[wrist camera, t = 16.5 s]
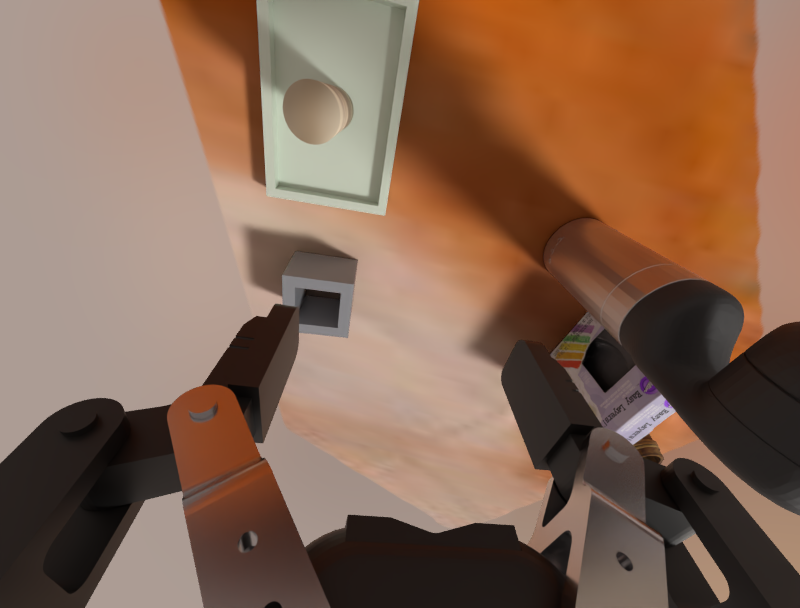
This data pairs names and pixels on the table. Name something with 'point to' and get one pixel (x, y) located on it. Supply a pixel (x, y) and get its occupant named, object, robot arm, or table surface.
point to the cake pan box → (611, 381)
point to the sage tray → (347, 69)
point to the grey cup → (321, 276)
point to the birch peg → (316, 110)
